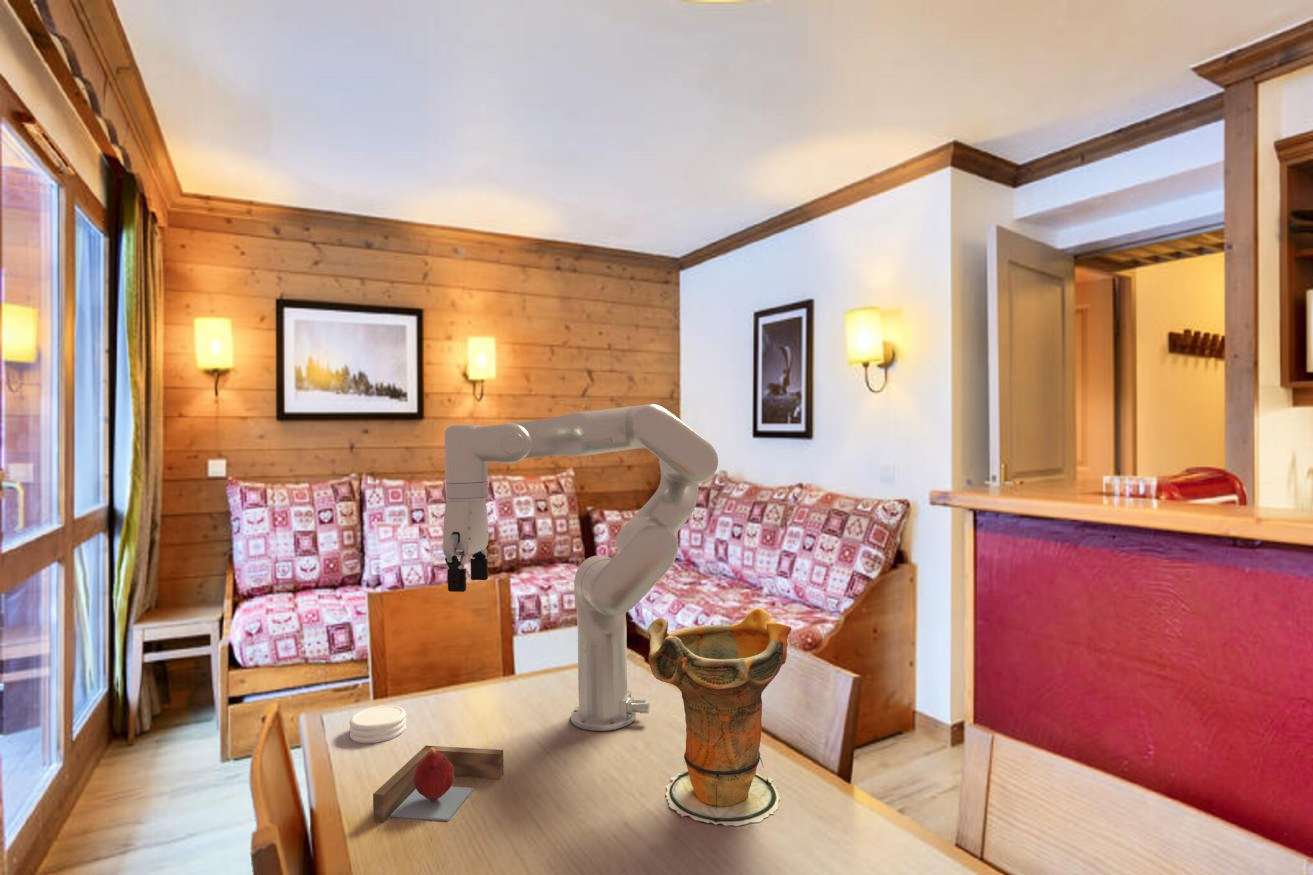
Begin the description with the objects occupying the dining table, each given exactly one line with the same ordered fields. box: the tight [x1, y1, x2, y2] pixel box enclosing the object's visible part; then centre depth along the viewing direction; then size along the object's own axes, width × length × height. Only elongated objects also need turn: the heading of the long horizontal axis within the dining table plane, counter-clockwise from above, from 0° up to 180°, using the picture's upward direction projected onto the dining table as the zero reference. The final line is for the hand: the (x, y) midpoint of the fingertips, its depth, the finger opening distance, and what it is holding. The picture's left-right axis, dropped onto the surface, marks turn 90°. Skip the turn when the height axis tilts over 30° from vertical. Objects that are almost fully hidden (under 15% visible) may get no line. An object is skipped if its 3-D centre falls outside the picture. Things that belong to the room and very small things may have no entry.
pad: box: [390, 785, 475, 822], centre depth 107 cm, size 9×9×1 cm
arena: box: [372, 745, 505, 823], centre depth 109 cm, size 14×16×4 cm
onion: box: [414, 748, 455, 801], centre depth 107 cm, size 6×6×8 cm
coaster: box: [349, 705, 407, 744], centre depth 134 cm, size 10×10×4 cm
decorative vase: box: [646, 607, 792, 827], centre depth 108 cm, size 21×23×28 cm
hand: (468, 585), depth 129 cm, fingers open, 9 cm apart
